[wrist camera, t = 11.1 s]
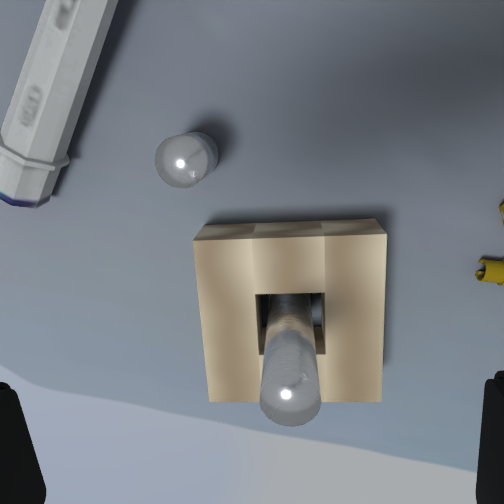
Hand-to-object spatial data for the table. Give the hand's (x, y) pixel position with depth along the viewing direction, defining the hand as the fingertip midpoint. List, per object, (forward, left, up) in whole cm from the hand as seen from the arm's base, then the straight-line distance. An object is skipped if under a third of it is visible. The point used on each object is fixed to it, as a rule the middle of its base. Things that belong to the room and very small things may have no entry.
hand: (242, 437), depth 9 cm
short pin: (+5, -4, -23) cm, 24 cm away
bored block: (-1, +7, -23) cm, 24 cm away
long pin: (-1, +7, -23) cm, 24 cm away
